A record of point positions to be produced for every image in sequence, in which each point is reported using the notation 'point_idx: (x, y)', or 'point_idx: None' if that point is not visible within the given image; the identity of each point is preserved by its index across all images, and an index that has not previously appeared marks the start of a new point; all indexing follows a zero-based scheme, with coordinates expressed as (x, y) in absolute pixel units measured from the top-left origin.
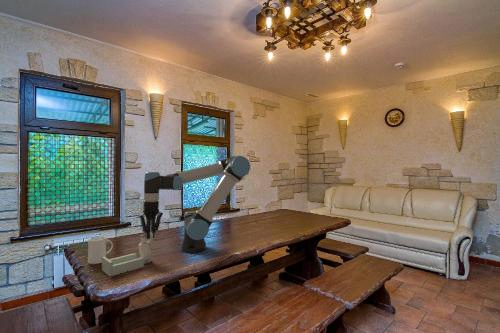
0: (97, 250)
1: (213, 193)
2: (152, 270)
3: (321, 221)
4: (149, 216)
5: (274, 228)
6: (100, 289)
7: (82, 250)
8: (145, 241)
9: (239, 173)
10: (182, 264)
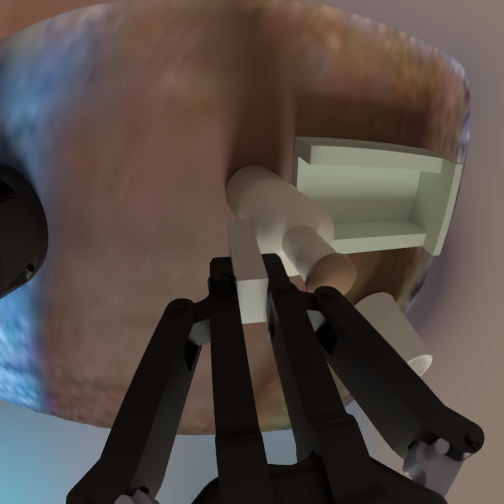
0: (406, 325)
1: None
2: (285, 61)
3: None
4: (368, 477)
5: None
6: (466, 85)
7: None
8: (300, 235)
9: None
10: (119, 36)
